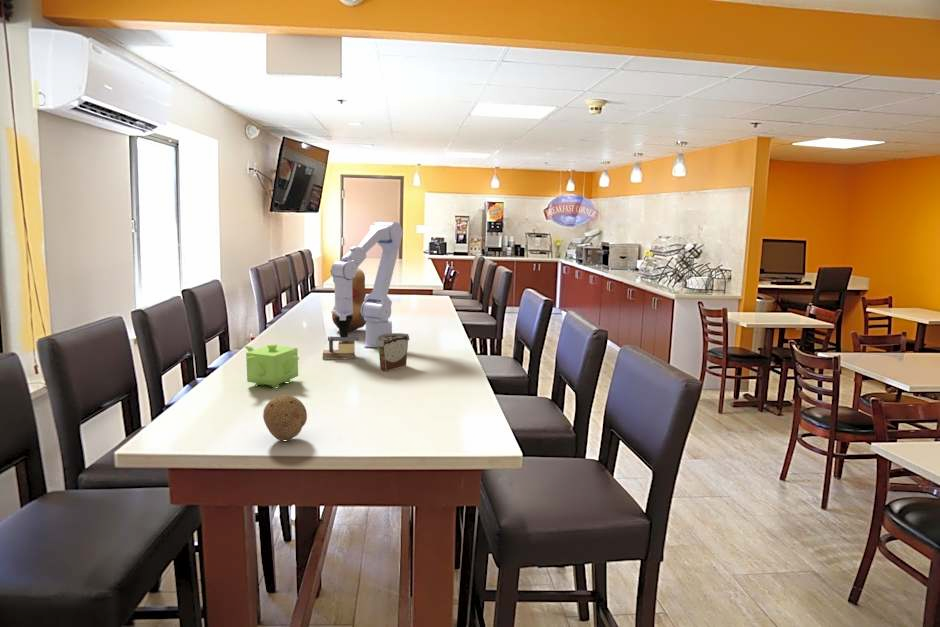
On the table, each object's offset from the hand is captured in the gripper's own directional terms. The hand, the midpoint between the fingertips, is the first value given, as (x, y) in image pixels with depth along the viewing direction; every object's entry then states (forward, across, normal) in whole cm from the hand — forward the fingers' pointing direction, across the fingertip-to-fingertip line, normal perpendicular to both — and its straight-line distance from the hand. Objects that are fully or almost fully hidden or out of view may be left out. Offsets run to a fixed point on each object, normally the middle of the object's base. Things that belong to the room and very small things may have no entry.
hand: (344, 337), depth 212 cm
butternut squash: (+6, -38, 0) cm, 38 cm away
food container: (+6, +18, +14) cm, 23 cm away
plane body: (+6, +4, -2) cm, 7 cm away
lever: (0, +4, 0) cm, 4 cm away
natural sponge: (+6, +76, -8) cm, 77 cm away
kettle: (+6, +34, -18) cm, 39 cm away
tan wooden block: (+3, +4, +1) cm, 6 cm away
